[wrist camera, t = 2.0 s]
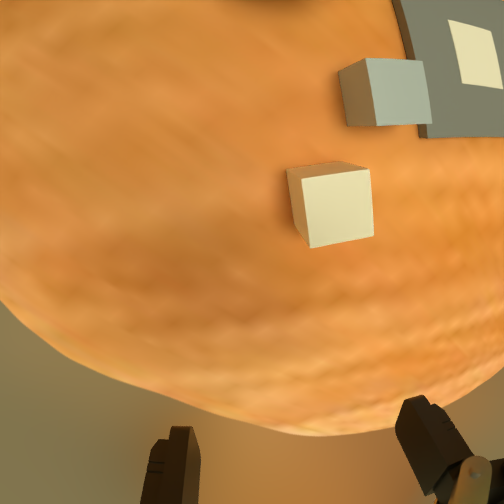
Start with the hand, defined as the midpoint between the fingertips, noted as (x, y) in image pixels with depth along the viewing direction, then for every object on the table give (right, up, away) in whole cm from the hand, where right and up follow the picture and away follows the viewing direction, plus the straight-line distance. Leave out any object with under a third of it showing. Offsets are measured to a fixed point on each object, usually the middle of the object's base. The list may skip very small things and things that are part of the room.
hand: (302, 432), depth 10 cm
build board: (+21, +27, +12) cm, 37 cm away
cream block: (+4, +12, +17) cm, 21 cm away
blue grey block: (+8, +20, +14) cm, 26 cm away
